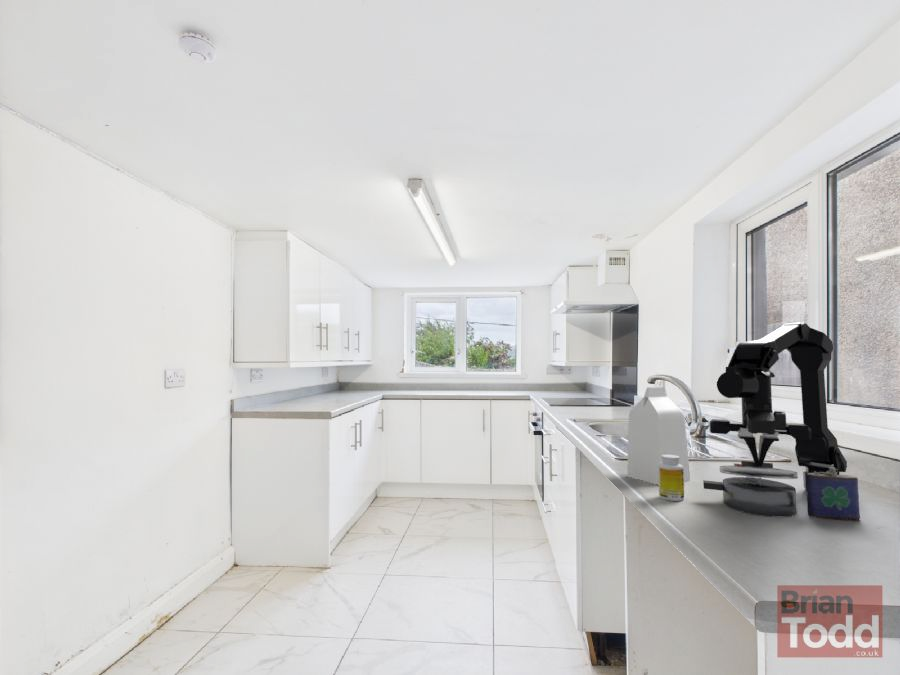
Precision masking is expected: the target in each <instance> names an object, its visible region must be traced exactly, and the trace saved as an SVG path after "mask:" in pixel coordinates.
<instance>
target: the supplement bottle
mask: <svg viewBox="0 0 900 675" xmlns="http://www.w3.org/2000/svg"><path fill="white" fill-rule="evenodd" d="M679 463H680V460H679V456H676V455H662V463H659V465H658V475H659V485H658V495H659V498H661V499H662V500H665V501H669V500H670V501H671V502H681V501H683V500H684V499H685V482H684V474H683V466H682V465H681V464H679Z"/></svg>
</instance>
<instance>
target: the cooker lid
mask: <svg viewBox="0 0 900 675" xmlns="http://www.w3.org/2000/svg"><path fill="white" fill-rule="evenodd" d="M719 472H720V473H721V474H726V475H733V476H739V477H746V476H748V477H759V478H761V479H776V480H777V479H780V480H797V479H798V477H799V476H798V475H799V474H798V472H797V471H794V470H789V469H783V468H775V467H774V464H773V462H763V465H762V467H756V465H755V463H754V461H747V460H746V461H745V460H741V461H740V463H733V465H720V466H719Z"/></svg>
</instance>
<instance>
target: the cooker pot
mask: <svg viewBox="0 0 900 675" xmlns="http://www.w3.org/2000/svg"><path fill="white" fill-rule="evenodd" d="M702 484H703V489H705V490H711V491H712V490H714V491H722V497H723V498H722V501H723V502H722V503H723V504H724V505H725V506H726V507H728V508H730V509H732V510H734V511H738V512H742V513H746V514H749V513H750V515H755V514H756V516H761V515H763V516H762V517H771V516H787V517H793V516H795V515H797V513H798V512H797V511H798V510H797V492H796V491H797V489H796V487H794V485H790V484H788V483H784V482H781V481H777V480H772V479H771V480H770V479H768V478H759V477H748V476H739V477H738V476H737V477H736V476H735V477H727V478H724V479H722V482H721V481H714V480H713V481H712V480H703V482H702ZM792 515H793V516H792Z"/></svg>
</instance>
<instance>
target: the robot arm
mask: <svg viewBox="0 0 900 675" xmlns="http://www.w3.org/2000/svg"><path fill="white" fill-rule="evenodd" d="M785 350H787V351H788V352H789V353H790V358H791V362H792V363H793V364H794V365H795V366H796V368H797V369H798V370H799V372H800V374H799V375H800V389H801V390H800V393H801V404H802V405H801V406H802V407H801V408H802V417H803V418H802V419H803V420H802V421H803V423H794V422H793V423H792V422H787V416H786V415H787V413H786V411H785V410H784V411H782V410H781V411H780V410H779V411H778V410H776V411H775V410H774V412H773V401H772V400H773V398H772V378H775V377H776V376H775V374H774V372H772V371H771V370H770V369H771V368H772V367H773V366H774V365H775V364H776V363H777V362H779V360H780V357H779V354H780V353H781V352H783V351H785ZM833 350H834V344H833V341H832V339H830V337H829V336H828V335H827V334H826V333H825V332H823V331H820V330H818V329H815V328H812V327H811V326H809V325H808V324H807V323H805V322H792V323H789V322H788V323H784V324H781V325H780V326H779V327H778V328H777V329H776V330H774V331H772V332H771V333H768V334H767V335H765V336H764V337H762V338H760V339H756V340H748V341H743V342H740V343H737V345H736V347H735V349H734V351H733V354H732V356H731V358H730V360H729V363H728V365H727V366H725V372H723V373H722V374H720V375H719V377H718V378H717V382H716V388H717V391H718V392H719V394H720V395H722V396H723V397H725V398H728V399H741V419H742V420H741V422H742V423H731V422H730V420H729V419H717V418H716V419H713V418H712V419H710V420H709V432H710V434H720V435H727V434H729V433H730V432H736V433H737V438H739V439H741V440H744V442H745V444H746V446H747V448H748V450H749V452H750V455H751V457H752V460H753V462H754V463H755V465H756V467H762V465H763V463H765V459H766V456H767V453H768V452H769V450H770V447H771V446H772V445H773V443H774V442H779V441H780V438H779V437H778V436H779V435H786V436H791V437H792V438H793V439H795V447H794V452H795V456H796V460H797V465H798V467H805V471H802V473H803V474H802V475H803V488H804V489H805V490H806V491H807V485H806V474H807V473H814V471H816V472H817V473H819V472H824V473H825V472H827V471H829V469H830V468H829V467H834V468H835V469H838V470H836V472H837V475H840V473H846V471H847V468H848V461H847V460H846V458H845V456H844V455H843V453H842V451H841V450H840V448H839V446H838V438H837V437H836V436H835V435H834V434H833V432H831V430H830V429H829V427H828V426H829V425H828V414H827V413H828V409H827V396H826V382H825V370H826V368H827V367H828V365H829V363H830V362H831V361H832V354H833V353H832V352H833ZM754 434H755V435H757V434H760V435H759V440H758V441H759V442H758V448H757V443H756V442H757V440H756V437H755V435H754ZM757 449H758V450H757ZM819 474H823V473H819Z"/></svg>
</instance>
